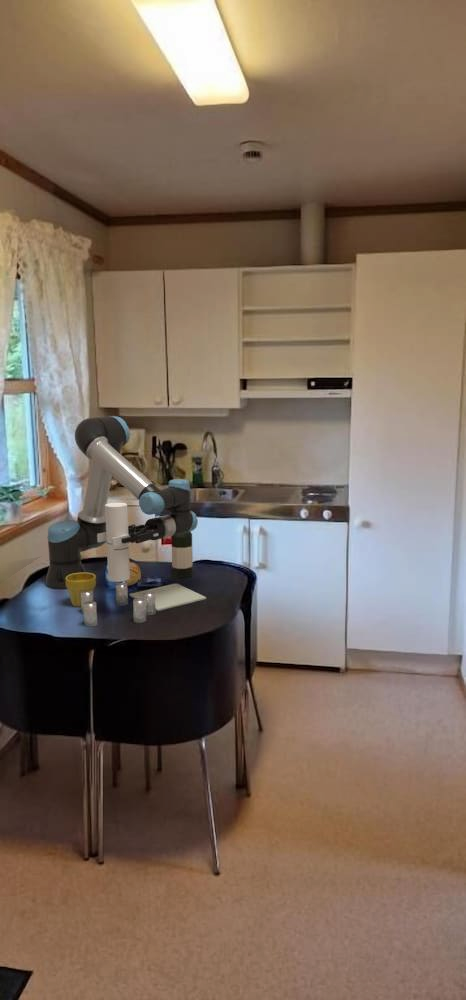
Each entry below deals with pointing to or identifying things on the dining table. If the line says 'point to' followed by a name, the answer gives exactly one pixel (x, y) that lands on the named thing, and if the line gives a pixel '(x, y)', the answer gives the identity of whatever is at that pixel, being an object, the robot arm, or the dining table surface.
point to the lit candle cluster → (139, 604)
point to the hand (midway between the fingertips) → (105, 540)
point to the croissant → (133, 574)
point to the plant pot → (79, 585)
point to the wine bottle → (182, 556)
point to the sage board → (171, 596)
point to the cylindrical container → (120, 553)
